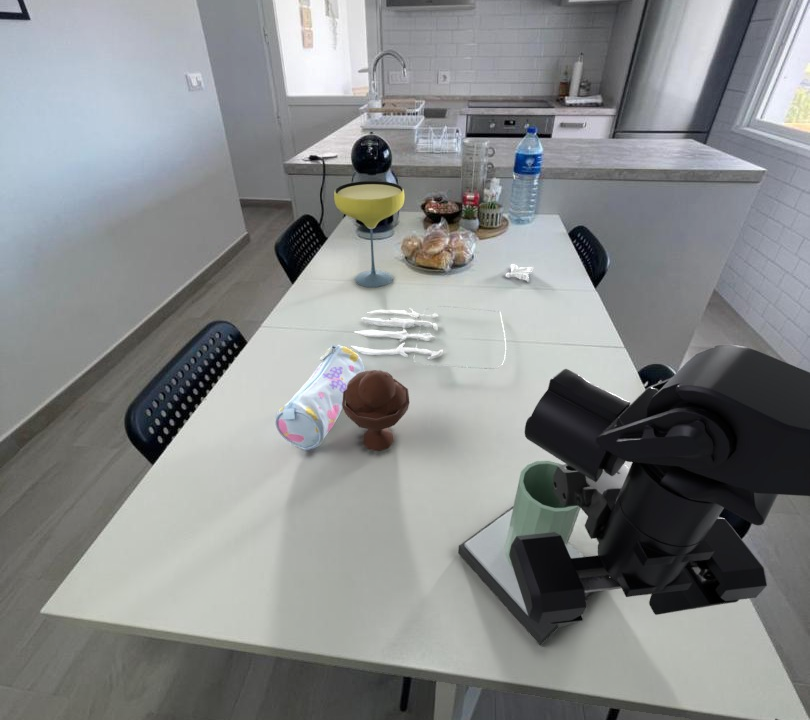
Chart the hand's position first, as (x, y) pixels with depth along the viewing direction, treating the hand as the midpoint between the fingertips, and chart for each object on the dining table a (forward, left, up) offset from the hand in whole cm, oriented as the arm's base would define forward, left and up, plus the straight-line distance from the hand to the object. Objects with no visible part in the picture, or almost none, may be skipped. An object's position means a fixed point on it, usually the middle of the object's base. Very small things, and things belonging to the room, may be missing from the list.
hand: (605, 614), depth 41 cm
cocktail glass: (+96, -36, -13) cm, 103 cm away
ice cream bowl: (+42, -2, -13) cm, 44 cm away
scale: (+11, -5, -13) cm, 18 cm away
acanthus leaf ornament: (+73, -72, -13) cm, 103 cm away
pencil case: (+53, +2, -13) cm, 55 cm away
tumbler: (+11, -6, -11) cm, 16 cm away
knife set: (+63, -30, -13) cm, 71 cm away
